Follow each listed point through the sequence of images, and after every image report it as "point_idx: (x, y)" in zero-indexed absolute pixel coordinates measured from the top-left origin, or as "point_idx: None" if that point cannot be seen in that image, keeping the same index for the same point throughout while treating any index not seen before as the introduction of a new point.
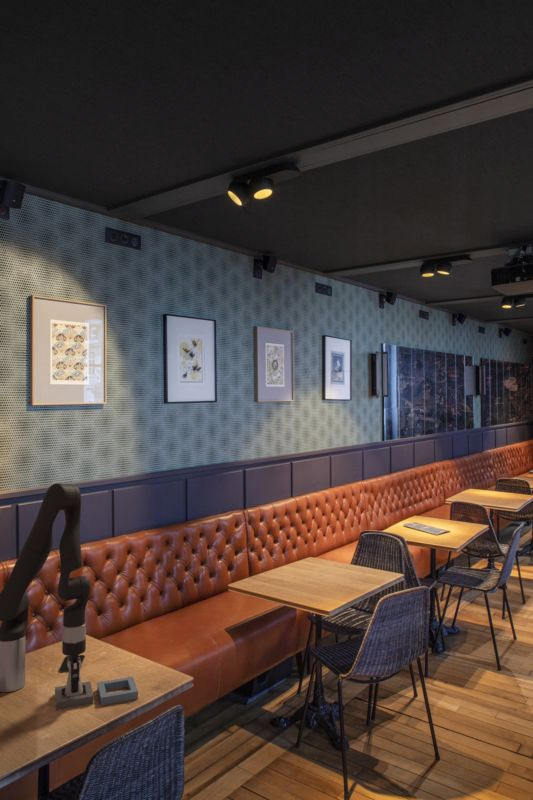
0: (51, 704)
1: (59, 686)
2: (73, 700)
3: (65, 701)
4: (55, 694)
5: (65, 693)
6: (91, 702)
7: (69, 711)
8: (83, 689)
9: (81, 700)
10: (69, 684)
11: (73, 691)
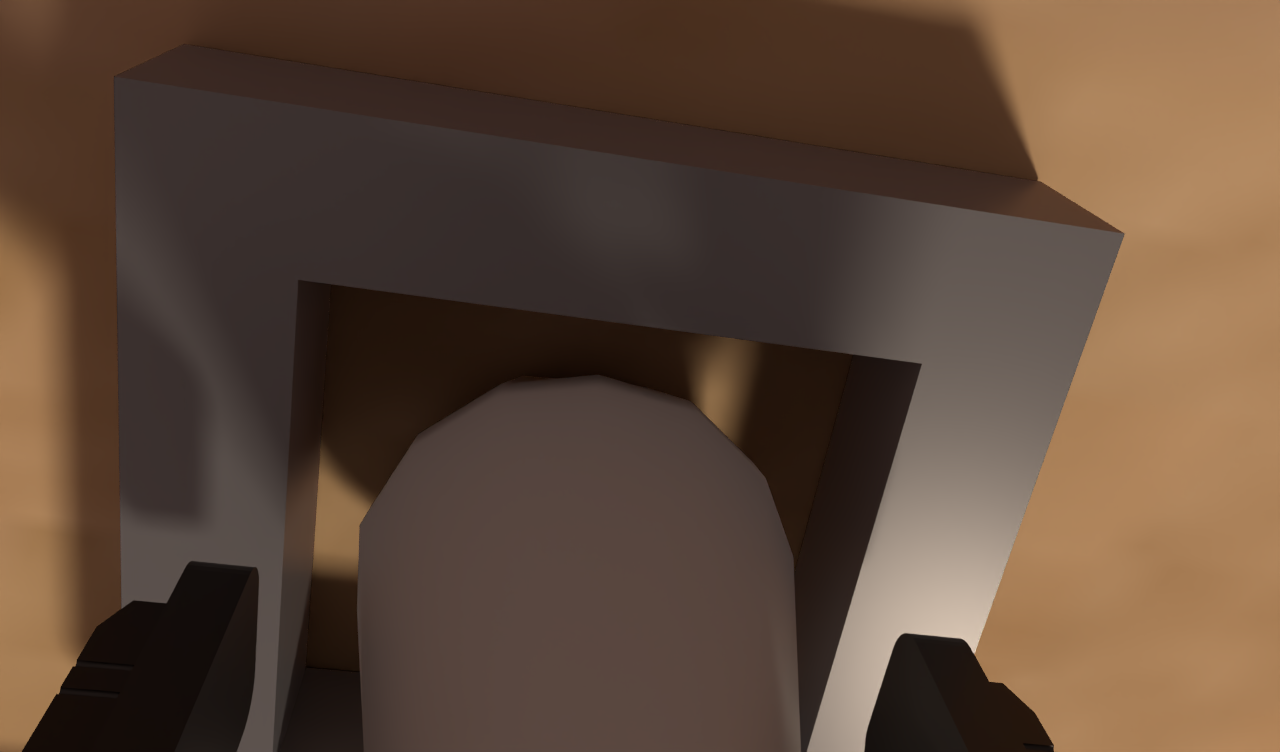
0: (576, 6)
1: (1081, 342)
2: (129, 497)
3: (123, 322)
4: (657, 161)
5: (540, 403)
6: None
7: (11, 314)
8: None
9: None
10: (431, 636)
11: (122, 628)
